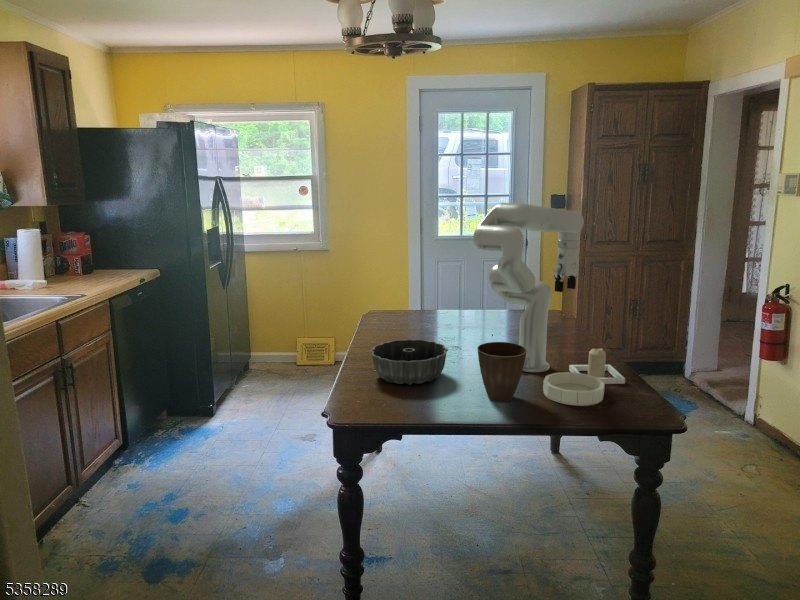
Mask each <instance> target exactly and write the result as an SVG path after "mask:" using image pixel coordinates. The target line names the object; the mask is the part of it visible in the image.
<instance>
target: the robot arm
mask: <svg viewBox="0 0 800 600" xmlns="http://www.w3.org/2000/svg"><path fill="white" fill-rule="evenodd" d="M584 223H585V221H584V217H583V215H582V214H581V213H580V212H579V211H575V210H566V209H561V208H560V209H559V208H554V207H549V206H548V207H547V206H541V205H533V204H528V203H520V202H519V203H517V202H499V203H497V204H496V205H495V206H493V207H492V209H490V210H489V211H488V213H487V214H486V215H485V216H484V217H483V219H482V220H480V222H479V224H478V225H477V226H476V228H475V230H474V231H473V236H472V237H473V238H472V239H473V244H474V247H476V248H477V249H478V250H481V251H487V252H498V253H502V255H501V258H500V259H499V261H498V263H497V264H495V265H493V266H492V267H491V269H490V270H489V274H488V282H489V285H490V287H491V289H492V290H493V291H494V292H495V293H496V294H497V295H498V296H499V297H500V298H501V299H502V300H503V301H504V302H505V303H508V304H510V305H516V306H522V307H526V309H525V310H524V311H523V313H522V314H521V316H520V318H519V330H518V331H519V332H518V334H519V335H518V337H519V338H518V345H521V346H523V347H525V348H526V349H527V353H526V358H525V363H524V367H523V371H522V372H524V373H525V372H526V373H543V372H546V371H548V370H550V366H551V365H550V364H549V363H548V362H547V361H546V358H547V356H546V355H547V337H548V332H547V331H548V317H549V315H548V314H549V309H550V303H551V301H552V300H551V299H552V293H553V292H552V289H551V287H550V285H549V284H548V283H546V282H544V281H539V280H536V277H535V274H534V273H533V272H532V270H531V269H530V268H529V266H527V265H526V263H525V262H524V261H523V259H522V257H523V250H524V245H525V244H524V241H525V239H524V235H523V232H522V230H523V231H533V232H541V233H542V232H543V233H547V232H549V233H550V232H551V233H552V232H553V233H557V235H558V237H557V249H558V250H557V255H556V262H555V268H554V270H553V276H554V292H557V293H558V292H559V293H563V292H564V278H565V277H567V284H566V288H567V289H570V290H575V289H576V286H577V285H576V284H577V282H576V281H577V277H578V273H579V267H580V254H579V246H580V231H582V228H583V227H584Z"/></svg>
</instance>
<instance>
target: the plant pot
mask: <svg viewBox="0 0 800 600" xmlns="http://www.w3.org/2000/svg"><path fill="white" fill-rule="evenodd" d="M526 353H527V349H526V348H525V347H523V346H521V345H519V343H518V344H517V343H513V342H508V341H491V342H484V343H481V344H479V345H478V346H477V356H478V363H479V369H480V374H481V378H482V379H481V380H482V382H483V385H484V390H485V391H486V392H485V393H486V395H487V398H488V399H489V400H491V401H493V402H498V403H506V402H509V401H511V400H512V399H513V398H514V395H515V393H516V391H517V388H518V385H519V383H520V380H521V377H522V374H523V372H524V371H523V367H524V363H525V358H526Z"/></svg>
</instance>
